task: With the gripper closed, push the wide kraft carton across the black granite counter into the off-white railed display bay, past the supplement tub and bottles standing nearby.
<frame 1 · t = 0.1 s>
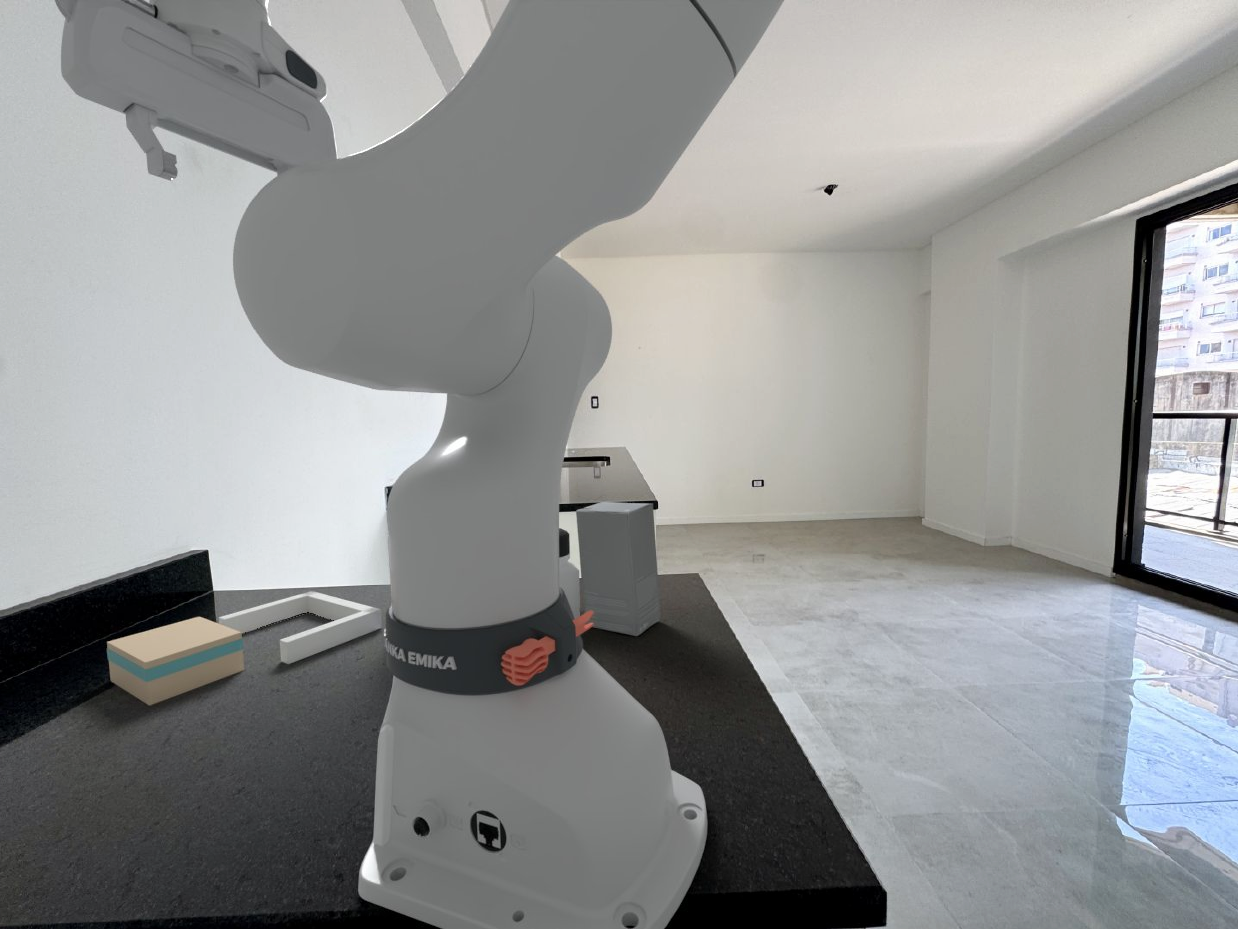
hand: (227, 196, 48), 48 cm above the counter, tool pointing down, fingers open, 8 cm apart
medicine bottle: (549, 617, 70), on the counter
skincare box: (619, 626, 66), on the counter
carton: (178, 677, 55), on the counter
supplement tub: (433, 633, 65), on the counter
display bay: (296, 634, 65), on the counter
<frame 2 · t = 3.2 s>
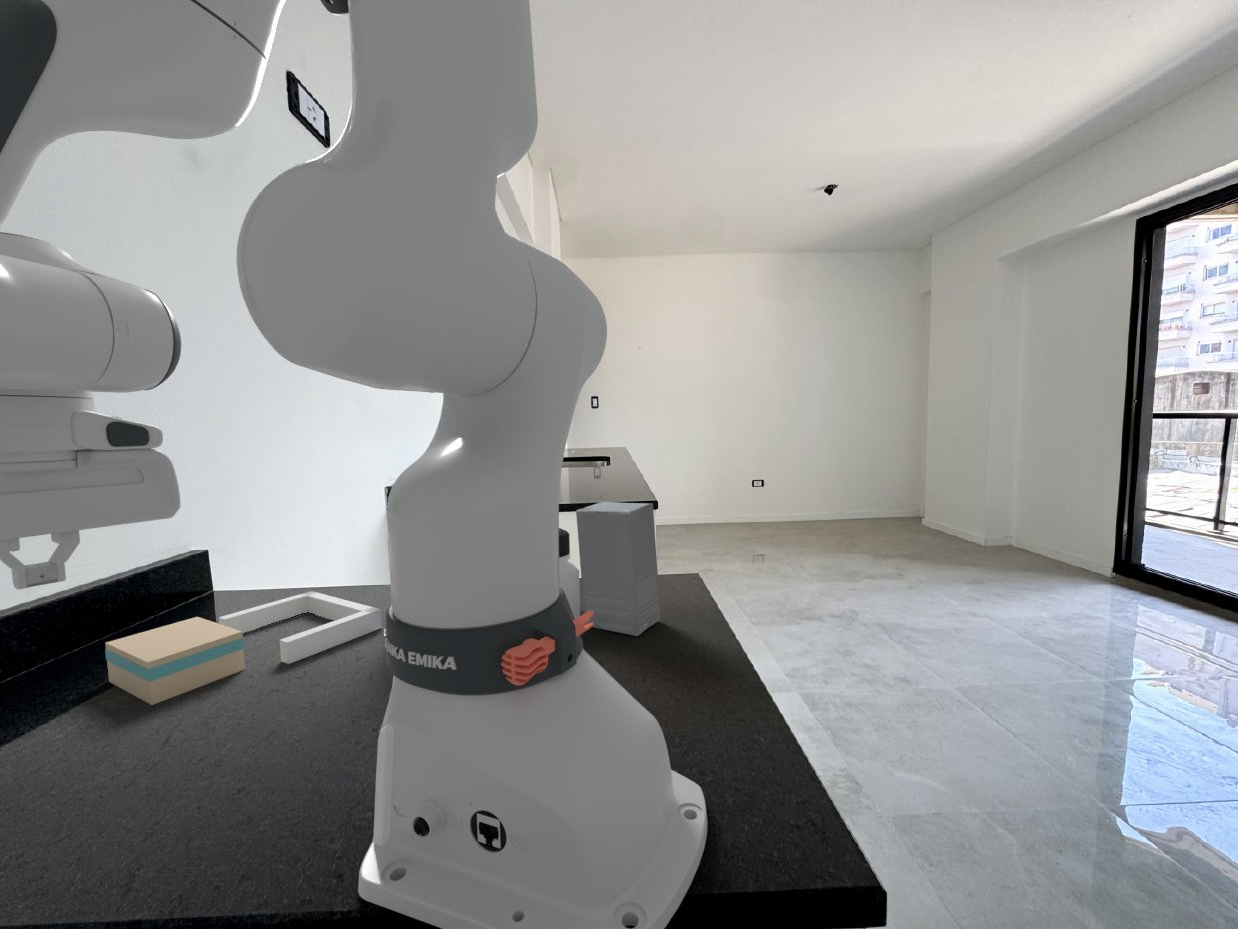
hand: (40, 584, 46), 12 cm above the counter, tool pointing down, fingers closed
nothing on the counter moved.
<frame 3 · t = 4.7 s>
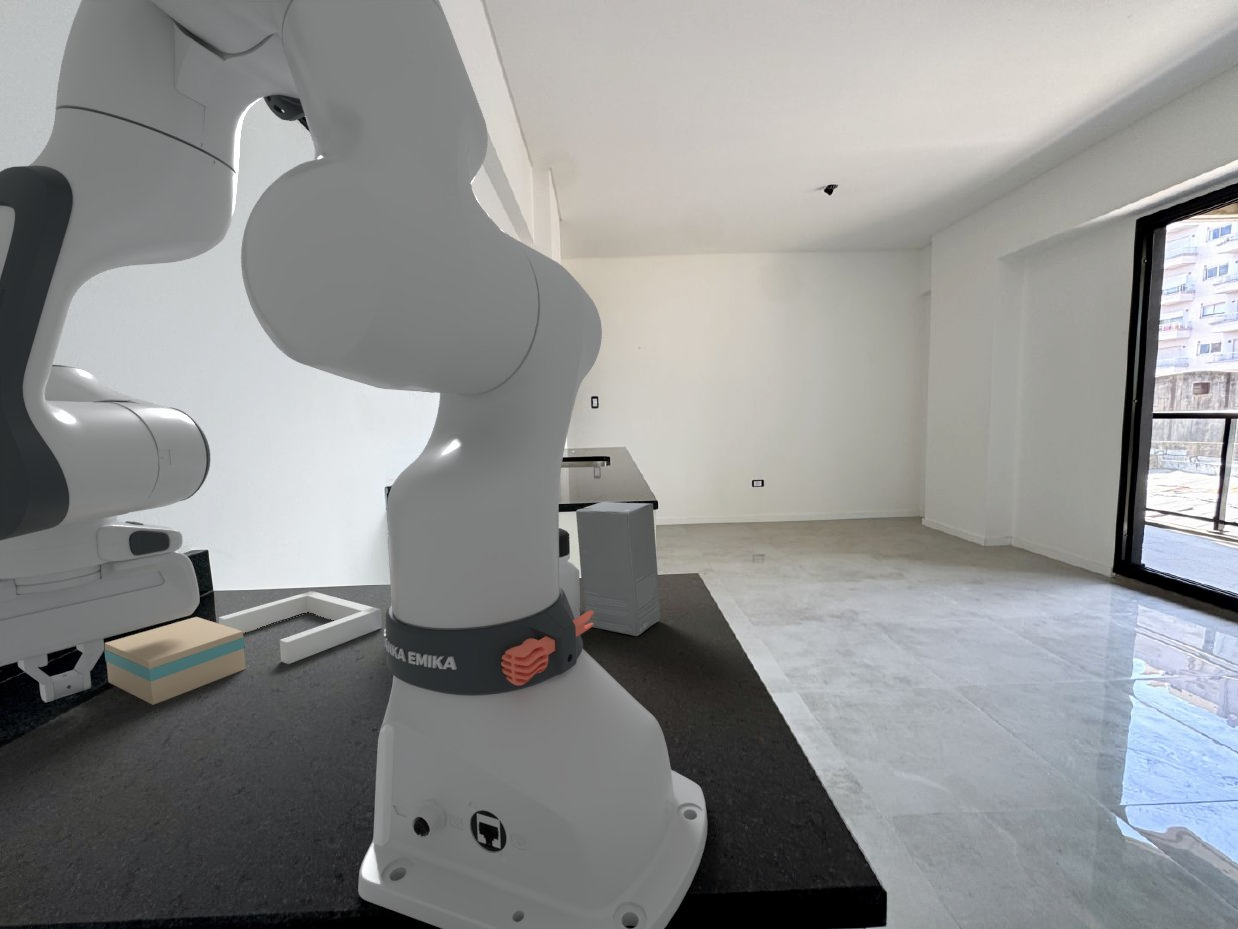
hand: (66, 694, 47), 2 cm above the counter, tool pointing down, fingers closed
nothing on the counter moved.
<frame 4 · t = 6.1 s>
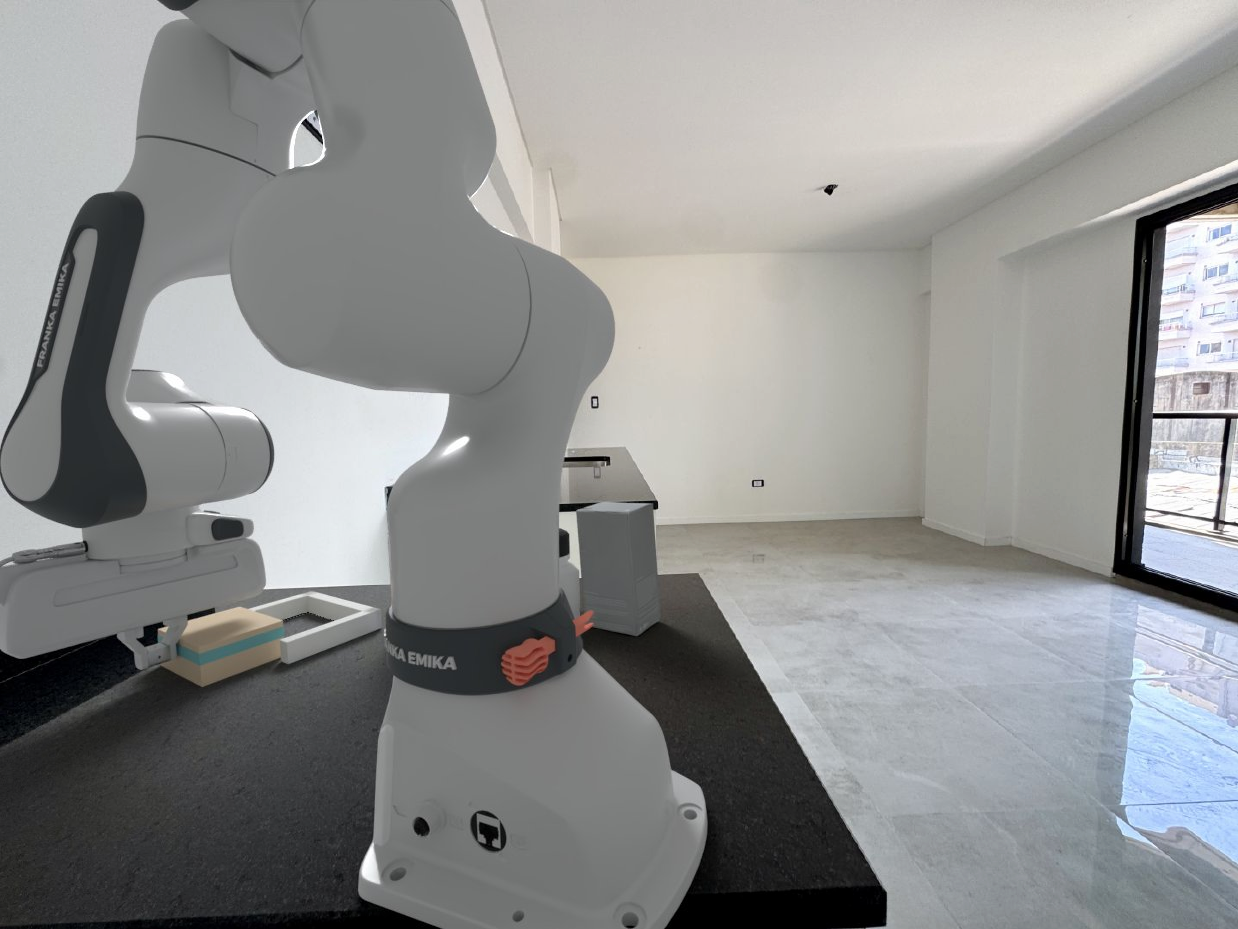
hand: (156, 663, 53), 2 cm above the counter, tool pointing down, fingers closed
carton: (224, 663, 58), on the counter
everything else where it was.
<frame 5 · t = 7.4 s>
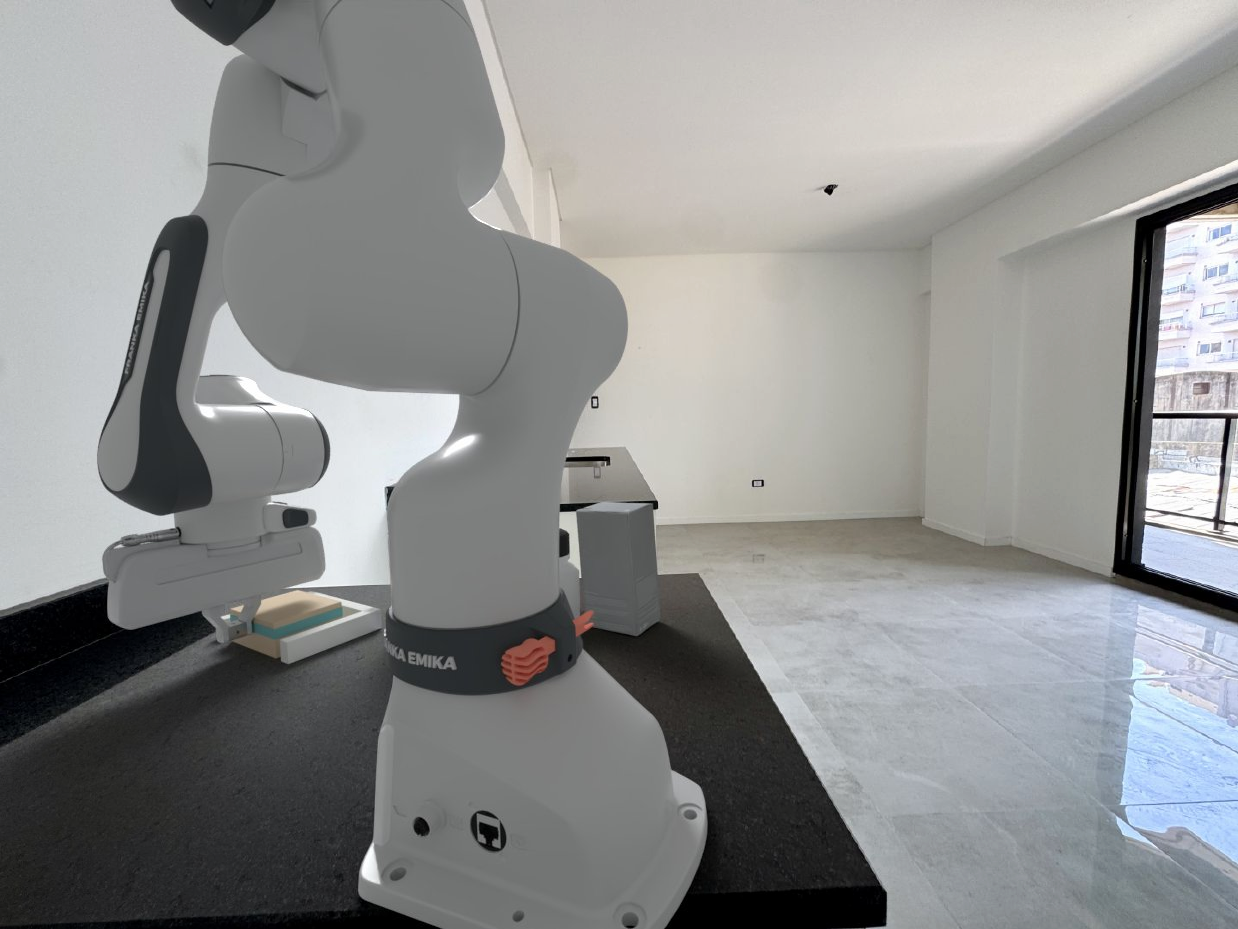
hand: (234, 638, 59), 2 cm above the counter, tool pointing down, fingers closed
carton: (289, 640, 64), on the counter
everything else where it was.
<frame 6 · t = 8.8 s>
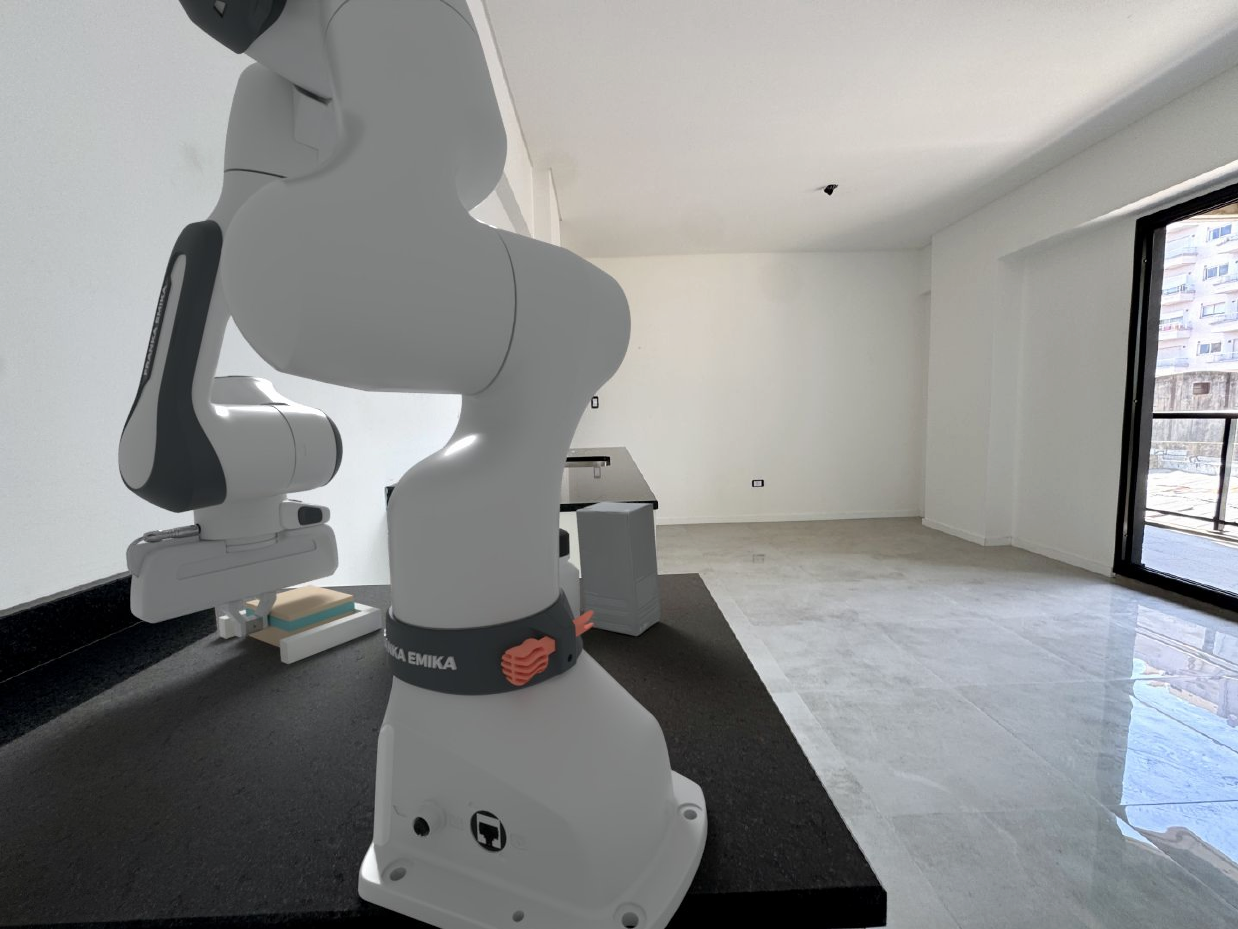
hand: (251, 632, 61), 2 cm above the counter, tool pointing down, fingers closed
carton: (302, 632, 66), on the counter, touching display bay, gripper
everything else where it was.
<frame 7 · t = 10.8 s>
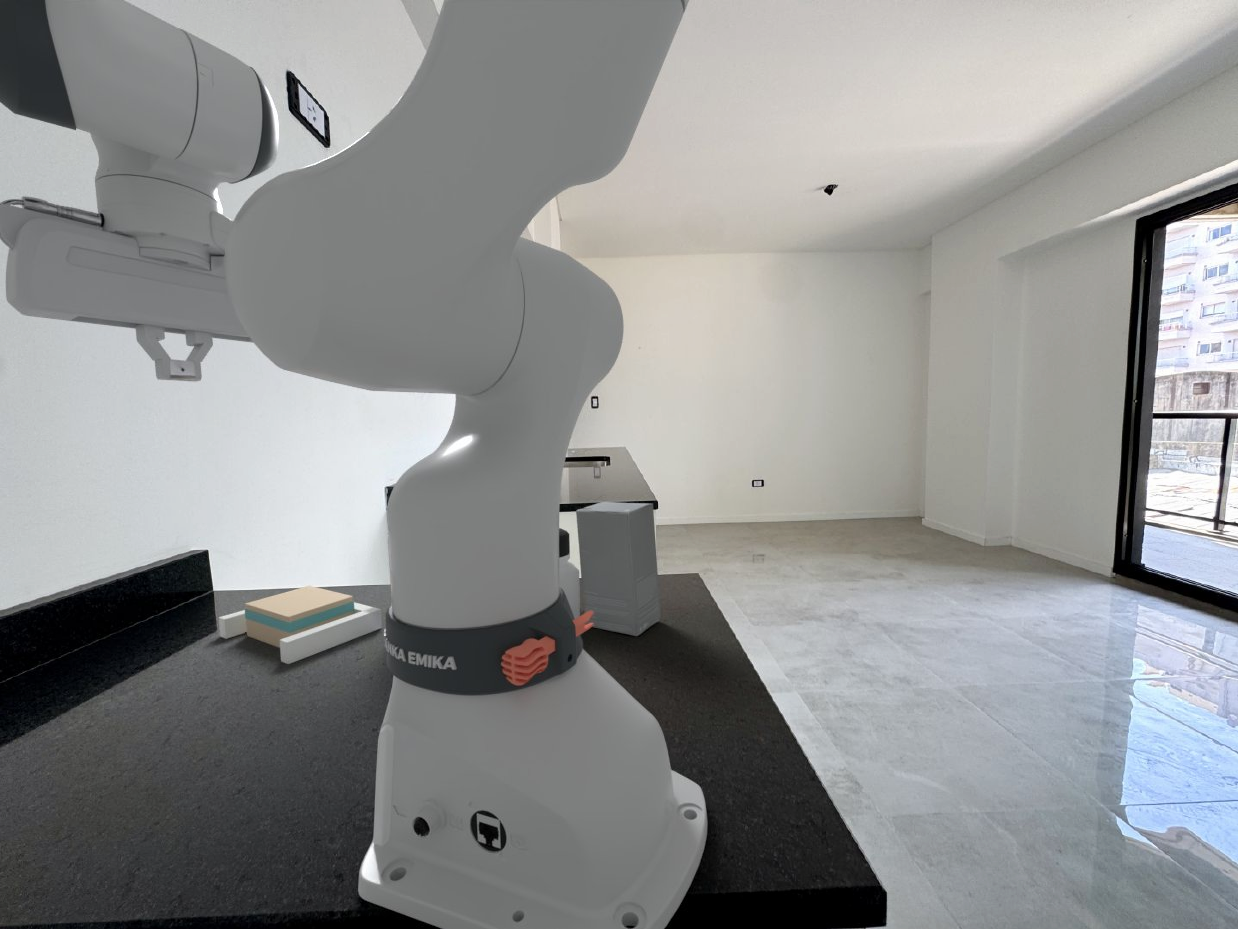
hand: (179, 380, 48), 31 cm above the counter, tool pointing down, fingers closed
carton: (302, 633, 66), on the counter
everything else where it was.
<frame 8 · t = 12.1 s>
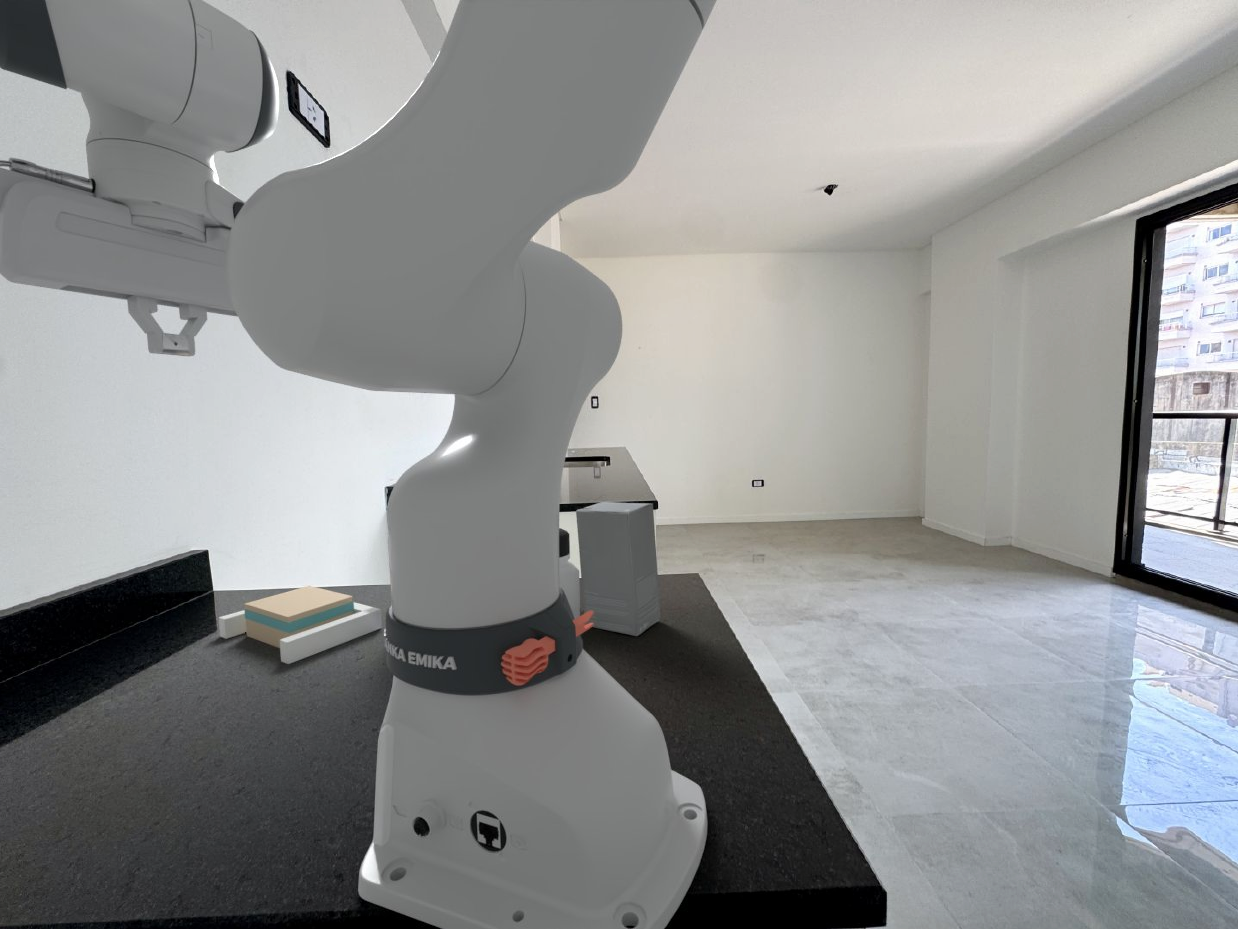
hand: (172, 354, 47), 33 cm above the counter, tool pointing down, fingers closed
nothing on the counter moved.
at the end: carton 1.5 cm from the target spot on the display bay, point 0.0 cm above the display bay's base; carton tilted 0° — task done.
